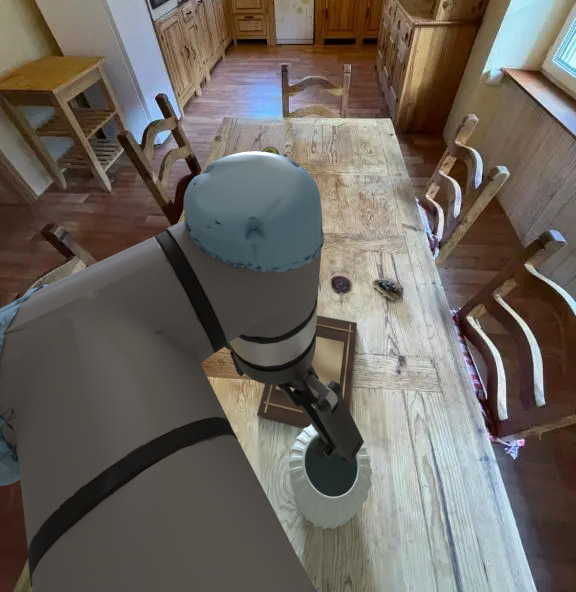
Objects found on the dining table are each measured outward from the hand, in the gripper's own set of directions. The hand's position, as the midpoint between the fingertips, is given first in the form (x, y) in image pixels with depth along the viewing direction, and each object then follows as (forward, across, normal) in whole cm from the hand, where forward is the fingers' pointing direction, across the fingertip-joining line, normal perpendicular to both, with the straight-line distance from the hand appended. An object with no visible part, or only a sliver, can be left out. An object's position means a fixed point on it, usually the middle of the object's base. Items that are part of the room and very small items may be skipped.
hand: (283, 403), depth 43 cm
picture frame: (+31, +7, -15) cm, 35 cm away
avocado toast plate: (+31, +68, -62) cm, 97 cm away
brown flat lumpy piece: (+31, +5, -44) cm, 54 cm away
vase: (+31, -8, -1) cm, 32 cm away
